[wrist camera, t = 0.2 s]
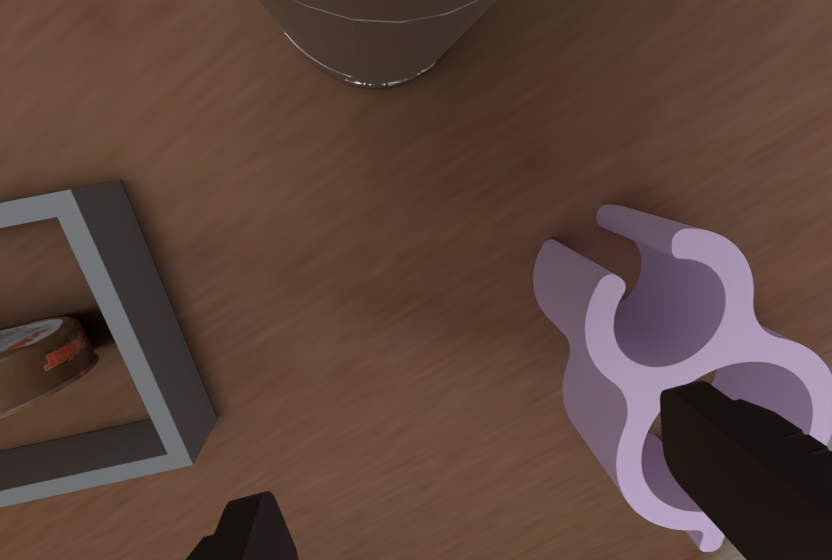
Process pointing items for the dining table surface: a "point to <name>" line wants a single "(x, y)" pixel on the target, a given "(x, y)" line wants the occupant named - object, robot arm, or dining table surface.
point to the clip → (668, 353)
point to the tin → (41, 361)
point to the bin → (138, 344)
